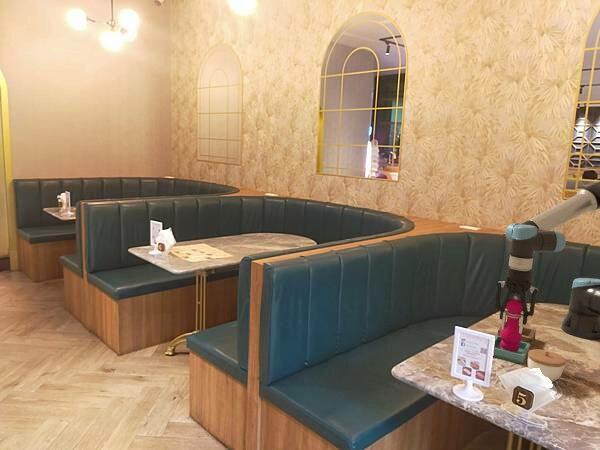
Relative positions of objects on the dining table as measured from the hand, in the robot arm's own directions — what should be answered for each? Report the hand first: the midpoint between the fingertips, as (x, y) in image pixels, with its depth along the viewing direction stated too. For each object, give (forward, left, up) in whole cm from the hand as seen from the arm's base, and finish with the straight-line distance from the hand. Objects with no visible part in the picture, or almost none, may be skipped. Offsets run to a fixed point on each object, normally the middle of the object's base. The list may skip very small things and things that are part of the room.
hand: (511, 330), depth 170 cm
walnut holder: (0, -16, -9) cm, 18 cm away
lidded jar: (-13, +14, -9) cm, 21 cm away
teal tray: (0, 0, -9) cm, 9 cm away
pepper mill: (0, 0, -7) cm, 7 cm away
